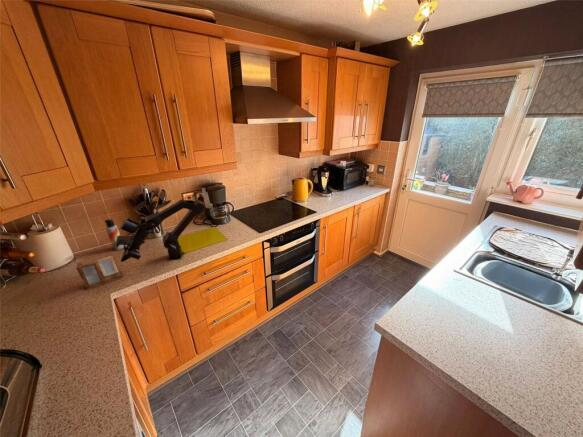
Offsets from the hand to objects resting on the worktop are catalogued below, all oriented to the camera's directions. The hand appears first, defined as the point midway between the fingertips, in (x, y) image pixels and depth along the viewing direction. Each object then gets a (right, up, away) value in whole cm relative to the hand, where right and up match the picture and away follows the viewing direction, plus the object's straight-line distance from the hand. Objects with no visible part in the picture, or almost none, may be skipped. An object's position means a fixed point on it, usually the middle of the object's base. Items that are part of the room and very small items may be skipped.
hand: (121, 261), depth 121 cm
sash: (-5, -6, -1) cm, 8 cm away
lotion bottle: (-20, +4, +25) cm, 32 cm away
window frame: (-7, -9, -3) cm, 12 cm away
